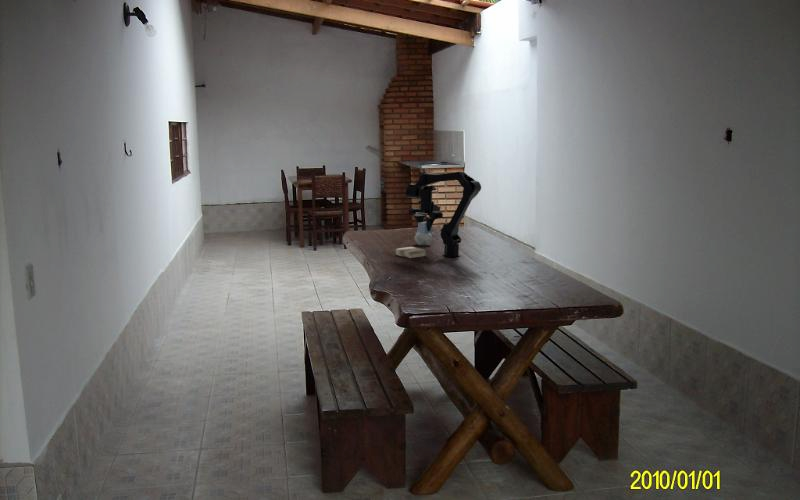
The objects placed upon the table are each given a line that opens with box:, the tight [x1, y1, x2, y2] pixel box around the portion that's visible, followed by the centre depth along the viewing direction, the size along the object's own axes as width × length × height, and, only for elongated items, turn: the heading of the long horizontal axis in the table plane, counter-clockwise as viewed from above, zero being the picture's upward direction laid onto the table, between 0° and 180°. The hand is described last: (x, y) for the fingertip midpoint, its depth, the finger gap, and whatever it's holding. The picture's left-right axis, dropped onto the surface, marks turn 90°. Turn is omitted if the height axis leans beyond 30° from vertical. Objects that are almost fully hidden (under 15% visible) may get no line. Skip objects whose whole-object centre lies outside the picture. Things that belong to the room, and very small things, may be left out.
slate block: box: [417, 221, 433, 234], centre depth 358 cm, size 5×5×5 cm
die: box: [413, 229, 433, 246], centre depth 383 cm, size 8×9×10 cm
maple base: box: [395, 246, 426, 259], centre depth 352 cm, size 10×10×3 cm
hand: (425, 230), depth 359 cm, fingers closed on slate block, 5 cm apart
